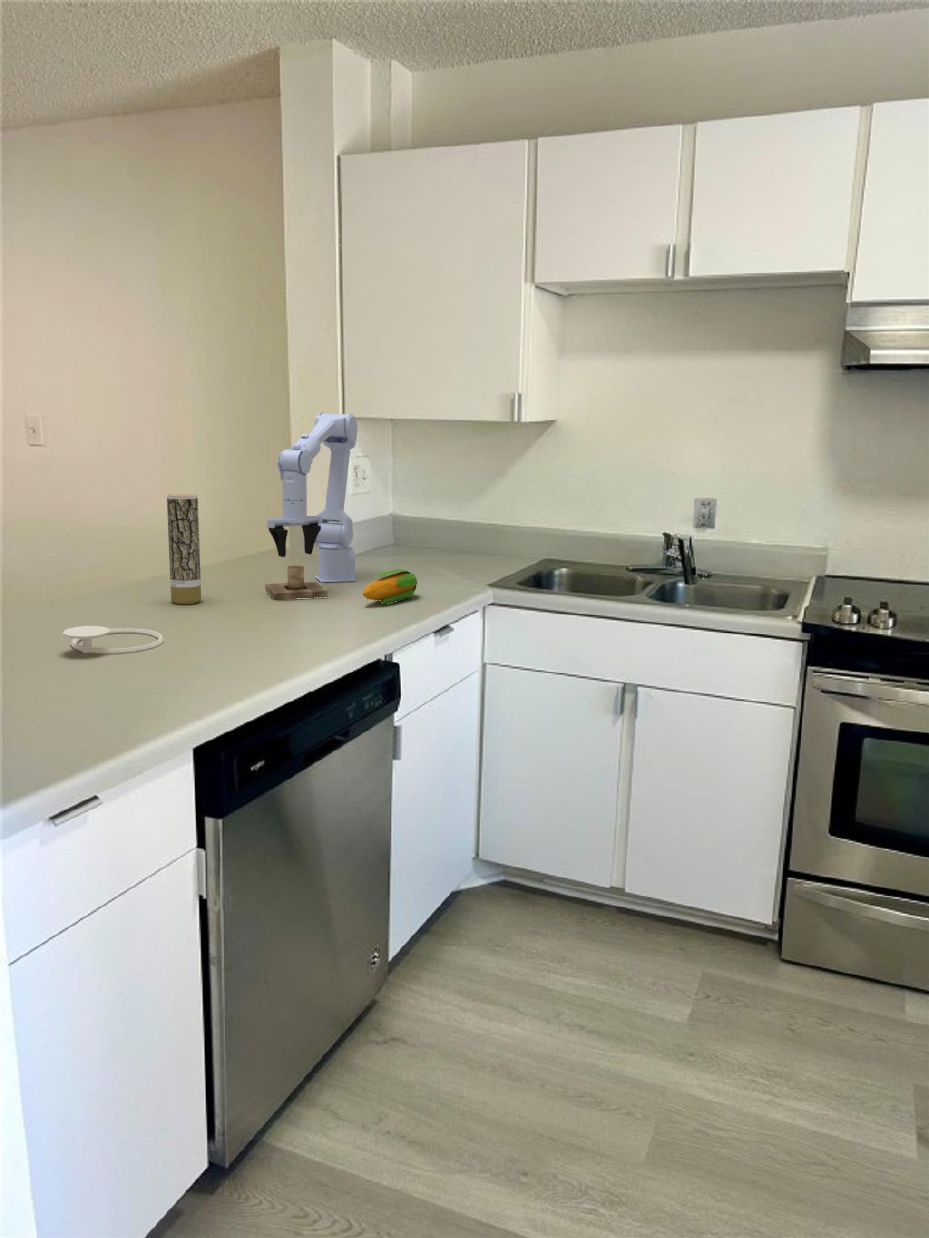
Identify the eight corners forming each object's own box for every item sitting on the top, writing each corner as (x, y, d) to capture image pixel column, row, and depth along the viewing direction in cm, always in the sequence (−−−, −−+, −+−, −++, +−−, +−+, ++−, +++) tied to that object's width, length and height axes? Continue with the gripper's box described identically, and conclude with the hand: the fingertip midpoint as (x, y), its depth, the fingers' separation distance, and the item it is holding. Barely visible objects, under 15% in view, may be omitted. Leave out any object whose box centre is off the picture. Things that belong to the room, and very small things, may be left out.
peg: (297, 592, 230) (297, 564, 229) (307, 594, 228) (307, 567, 226) (284, 594, 227) (283, 566, 226) (294, 596, 225) (294, 568, 223)
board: (316, 588, 235) (316, 581, 235) (327, 598, 224) (327, 591, 224) (265, 591, 230) (265, 583, 230) (274, 600, 220) (274, 593, 219)
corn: (424, 566, 228) (377, 578, 212) (426, 596, 230) (379, 610, 213) (400, 565, 232) (352, 576, 215) (401, 594, 234) (353, 608, 217)
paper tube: (192, 606, 211) (188, 497, 205) (165, 604, 212) (161, 495, 207) (206, 600, 218) (203, 494, 212) (180, 598, 219) (176, 493, 213)
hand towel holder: (181, 619, 182) (106, 641, 163) (182, 640, 183) (107, 665, 164) (114, 609, 188) (34, 629, 169) (115, 629, 189) (35, 652, 170)
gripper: (310, 496, 230) (310, 550, 233) (259, 499, 220) (260, 555, 223) (326, 499, 225) (326, 554, 228) (275, 502, 215) (276, 559, 218)
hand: (295, 555), depth 225 cm, fingers open, 7 cm apart
